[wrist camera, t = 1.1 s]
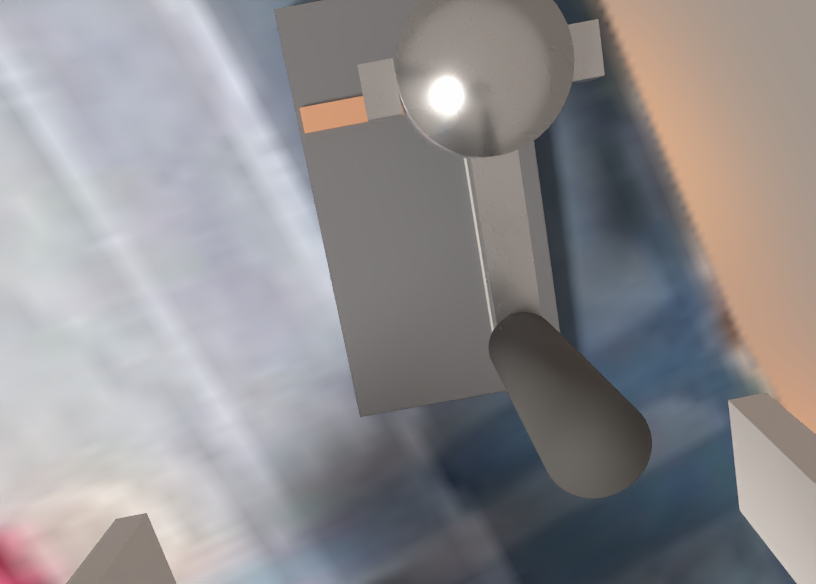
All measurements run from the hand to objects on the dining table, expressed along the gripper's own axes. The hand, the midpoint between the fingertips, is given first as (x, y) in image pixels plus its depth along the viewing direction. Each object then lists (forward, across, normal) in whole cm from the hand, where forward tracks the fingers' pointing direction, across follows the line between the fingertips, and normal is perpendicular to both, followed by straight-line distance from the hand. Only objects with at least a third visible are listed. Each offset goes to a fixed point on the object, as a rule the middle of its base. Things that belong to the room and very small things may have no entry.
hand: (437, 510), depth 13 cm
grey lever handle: (+20, -4, -4) cm, 20 cm away
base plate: (+25, 0, -3) cm, 25 cm away
